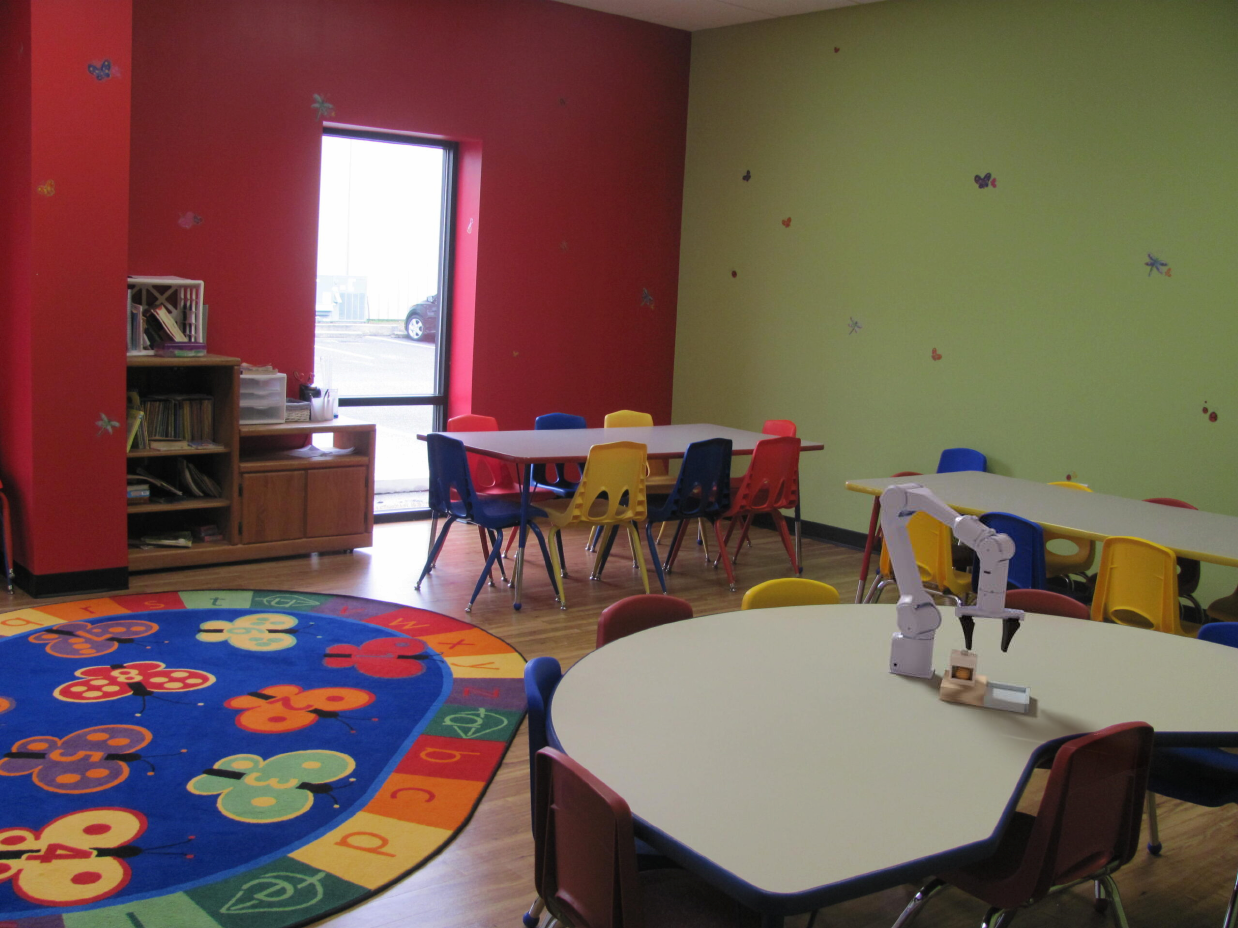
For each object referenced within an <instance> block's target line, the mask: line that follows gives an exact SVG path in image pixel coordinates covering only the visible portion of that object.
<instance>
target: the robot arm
mask: <svg viewBox="0 0 1238 928" xmlns="http://www.w3.org/2000/svg"><path fill="white" fill-rule="evenodd" d="M878 501H879V503H880V507H881V511H880V512H881V513H880V527H881V531H882V533H883V537H884V541H885V545H886V549H887V552H888V556H889V559H890V562H891V566H892V570H893V572H894V577H895V581H896V583H897V588H898V591H899V594H900V598H899V600H898V601H897V604H896V606H895V608H896V612H897V613H896V614H897V616H896V624H897V628H898V630H899V631H894V632H893V634H892V637H891V644H890V645H891V646H890V655H889V670H888V672H889V673H890V674H896V675H903V676H909V677H916V678H921V679H928V680H931V679H932V678H933V675H934V672H935V667H933V658H934V657H933V655H934V644H935V635H936V630H938V629H939V628H940V627H941V625H942V622H943V618H942V613H941V611H940V609H939V608H938V607H937V605H936V603H935V601H934V598H933V597H932V596H931V595H930V594H929V593H927V592H926V591H925V589H924V585H923V581H922V577H921V573H920V570H919V568H918V563H917V560H916V555H915V552H914V550H913V546H912V542H911V539H910V535H909V531H908V528H907V525H908V523H909V522H910V520H911V519H912V517H913V516H914V515H915V514H917V513H918V512H925V513H927V514H928V515H930V516H931V517H933V518H935V519H936V520H937V521H940V522H942V523H943V524H945V525H946V526H948V527H949V528H951V529H952V533H953V536H954V537H955V538H956V539H958V540H959V541H961V542H962V543H964V544H965V545H967V546H968V547H969V548H970V549H972V550H974V551H975V552H976V555H977V557H978V558H979V567H980V568H979V576H978V577H979V578H978V586H977V587H978V588H977V599H976V605H968V606H966V605H965V606H962V605H961V606H958V605H957V606H955V607H954V616H955V617H956V618H958V621H959V622H960V626H961V629H962V632H963V635H964V637H963V638H964V642H965V643H964V644H965V650H968V651H972V649H973V634H974V631H975V626H976V622H975V621H974V618H980V619H981V618H982V619H996V620H997V619H999V620H1000V619H1001V620H1002V623H1001V624H1002V635H1001V641H1000V650H1001V651H1002V653H1007V652H1008V649H1009V646H1010V644H1011V641H1012V639H1013V638H1014V636H1015V634H1016V633H1017V632H1018V630H1020V627H1021V622H1025V616H1026V612H1025V611H1024V610H1022V609H1014V608H1006V607H1005V605H1006V604H1005V603H1006V593H1007V584H1008V574H1009V573H1008V572H1009V562H1010V559H1012V558H1013V557H1014V555H1015V553H1016V545H1015V542H1014V541H1013V539H1012V538H1011V537H1010V536H1009V535H1008V534H1007V533H997V532H996V531H997V530H996V529H994V528H990V527H988V526H987V525H985V524H983V523H982V522H981V521H980V520H979V519H980V518H979V517H977V516H976V515H969V514H965V515H961V514H960V513H958V512H957V511H955V510H954V509H953V508H952V507H950V506H949V505H948V504H946V503H945V502H944V501H942V500H941V499H940V498H938V497H937V496H936V495H935V494H933V492H932V491H931V490H930V488H927V487H924V485H922V484H921V483H919V482H910V483H903V484H891V485H888V486H886V487H885V489H884V490H883V492H882V494H881V495H880V497H879V500H878Z"/></svg>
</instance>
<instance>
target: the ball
mask: <svg viewBox="0 0 1238 928" xmlns="http://www.w3.org/2000/svg"><path fill="white" fill-rule="evenodd" d="M955 675H956V678H957V679H963V680H967V679H968V678H969V676H970V673H969V671H968V669H966V668H964V667H960V668H958V669H957V670H956V672H955Z"/></svg>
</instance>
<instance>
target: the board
mask: <svg viewBox="0 0 1238 928" xmlns="http://www.w3.org/2000/svg"><path fill="white" fill-rule="evenodd" d="M948 678H949V670H948V669H945V671H944V674H943V676H942V680H941V682H940V683H941V684H940V689H939V698H938V699H939V701H941V700H942V701H946V702H954V703H958V704H959V703H960V704H966V705H972V706H977V707H978V706H979V707H983V702H984V696H985V691H986V685H987V681H988V676H987V675H980V674H976V680H975V684H974V686H968V685H961V684H955V683H949V682H948ZM952 678H956V677H955V676H952ZM956 679H957V678H956ZM967 680H969V681H972V679H967Z"/></svg>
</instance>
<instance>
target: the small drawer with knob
mask: <svg viewBox="0 0 1238 928" xmlns="http://www.w3.org/2000/svg"><path fill="white" fill-rule="evenodd" d="M950 652H951V653H950V656H949V657H950V658H949V668H948V669H949V678H948V682H949V683H955V684H961V685H968V686H974V684H975V680H976V675H977V668H978V658H979V657H978V656H979V652H975V651H970V650H967V649H954V648H952V649H951V651H950ZM960 667H964V668H966V669H968V671H969V673H970V676H969V678H968V679H972V681H969V680H963V679H956V678H952V676H955V677H956V675H955V672H956V670H957V669H958V668H960Z"/></svg>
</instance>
